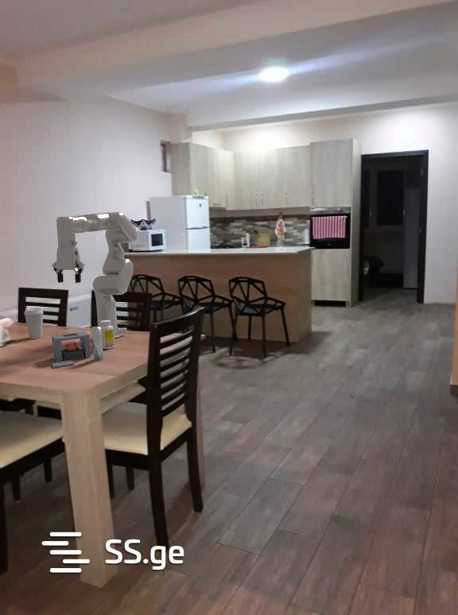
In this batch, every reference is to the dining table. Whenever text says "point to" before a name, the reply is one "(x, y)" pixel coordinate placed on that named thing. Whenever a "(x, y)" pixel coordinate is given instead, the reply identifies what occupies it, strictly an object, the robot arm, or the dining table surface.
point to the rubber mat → (62, 364)
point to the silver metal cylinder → (97, 343)
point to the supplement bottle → (107, 334)
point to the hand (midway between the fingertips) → (69, 282)
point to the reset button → (71, 346)
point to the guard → (71, 355)
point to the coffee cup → (34, 322)
